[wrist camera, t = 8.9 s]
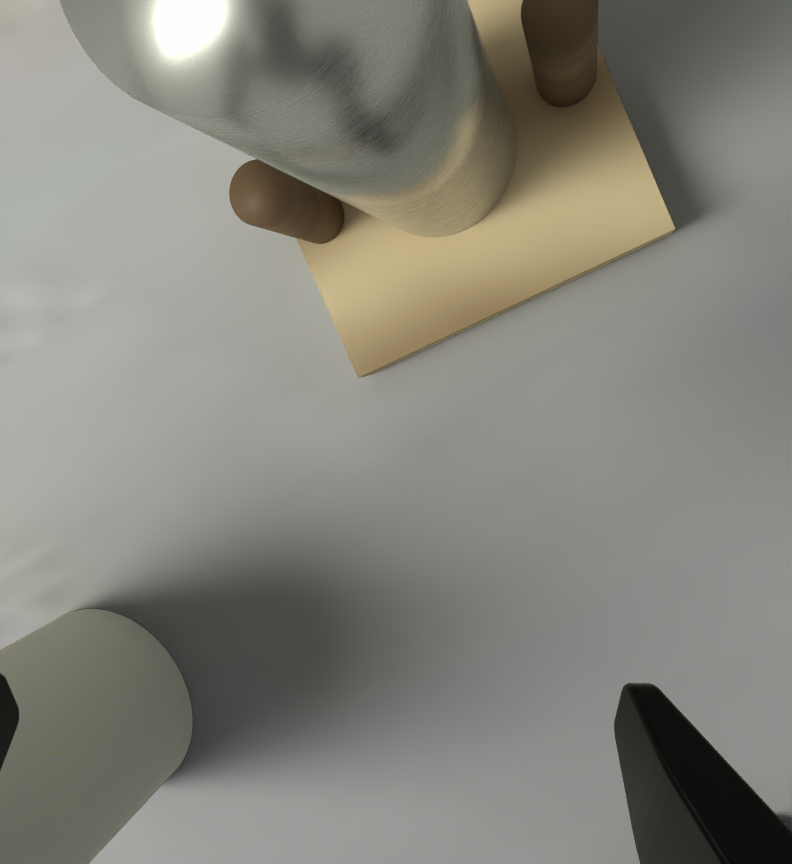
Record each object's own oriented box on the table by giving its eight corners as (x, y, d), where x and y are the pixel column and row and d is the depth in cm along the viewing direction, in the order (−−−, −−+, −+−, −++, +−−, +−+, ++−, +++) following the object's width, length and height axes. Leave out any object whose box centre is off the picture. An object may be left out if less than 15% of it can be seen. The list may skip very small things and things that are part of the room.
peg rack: (670, 234, 19) (698, 202, 14) (370, 375, 22) (305, 390, 17) (531, -95, 18) (508, -249, 13) (248, 97, 22) (145, 30, 17)
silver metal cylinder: (549, 116, 18) (479, -240, 7) (461, 266, 19) (278, 187, 8) (410, 40, 19) (130, -401, 7) (335, 190, 20) (-1, 16, 9)
